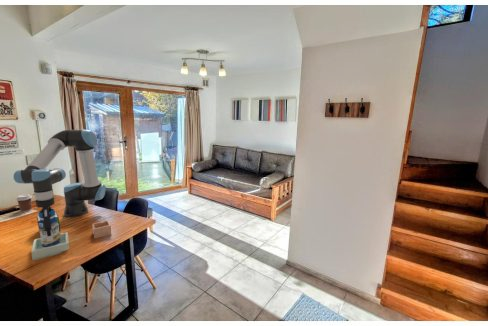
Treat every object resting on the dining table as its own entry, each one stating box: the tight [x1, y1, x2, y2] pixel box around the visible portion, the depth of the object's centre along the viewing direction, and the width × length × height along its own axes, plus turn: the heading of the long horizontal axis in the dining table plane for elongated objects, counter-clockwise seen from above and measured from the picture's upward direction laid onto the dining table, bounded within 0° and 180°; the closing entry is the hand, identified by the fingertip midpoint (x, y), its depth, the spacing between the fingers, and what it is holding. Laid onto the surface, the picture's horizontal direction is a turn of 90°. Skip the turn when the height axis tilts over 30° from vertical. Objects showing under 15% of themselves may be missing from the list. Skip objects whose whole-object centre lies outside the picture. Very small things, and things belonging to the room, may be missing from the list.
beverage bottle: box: [37, 208, 61, 248], centre depth 127 cm, size 8×8×20 cm
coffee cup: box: [15, 193, 33, 213], centre depth 180 cm, size 9×9×12 cm
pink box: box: [91, 219, 112, 239], centre depth 146 cm, size 9×9×7 cm
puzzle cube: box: [36, 212, 61, 234], centre depth 149 cm, size 10×10×10 cm
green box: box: [31, 232, 70, 261], centre depth 129 cm, size 15×15×5 cm
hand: (50, 237), depth 128 cm, fingers closed on beverage bottle, 7 cm apart
